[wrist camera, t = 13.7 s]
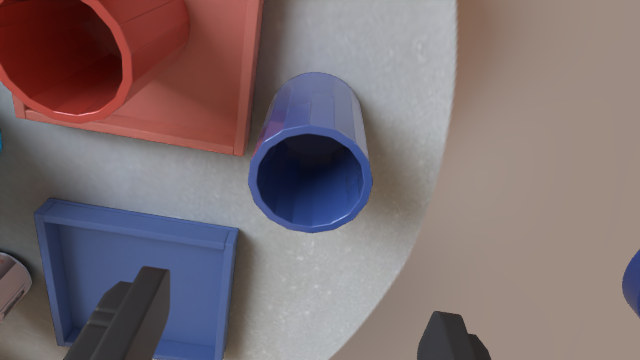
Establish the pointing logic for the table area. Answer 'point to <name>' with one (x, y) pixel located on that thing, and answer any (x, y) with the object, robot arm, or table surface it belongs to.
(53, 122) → the red tray
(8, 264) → the beer can
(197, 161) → the table surface
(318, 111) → the blue cup
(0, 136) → the mug
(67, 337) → the blue tray
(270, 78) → the table surface
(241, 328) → the table surface
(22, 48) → the red cup
